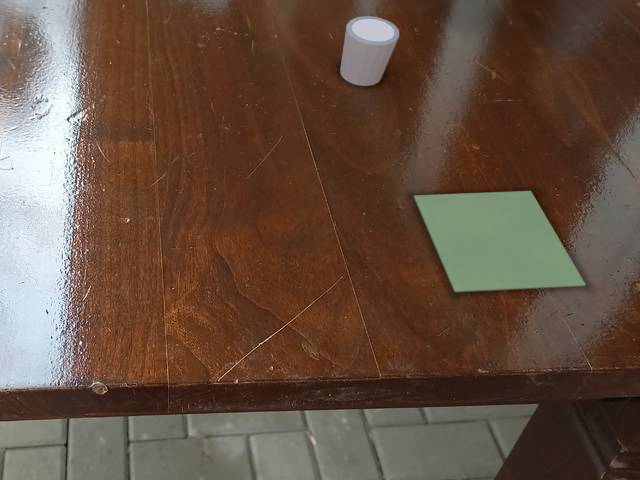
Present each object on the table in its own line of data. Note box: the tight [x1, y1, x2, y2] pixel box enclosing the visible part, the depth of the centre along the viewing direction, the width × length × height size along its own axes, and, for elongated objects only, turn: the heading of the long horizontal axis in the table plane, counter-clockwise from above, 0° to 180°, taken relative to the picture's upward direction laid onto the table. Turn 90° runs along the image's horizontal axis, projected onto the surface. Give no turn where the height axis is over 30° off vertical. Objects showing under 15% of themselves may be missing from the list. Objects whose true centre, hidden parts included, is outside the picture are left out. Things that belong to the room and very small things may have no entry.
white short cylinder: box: [339, 15, 400, 87], centre depth 93 cm, size 7×7×7 cm
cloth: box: [413, 190, 586, 294], centre depth 76 cm, size 14×14×1 cm
